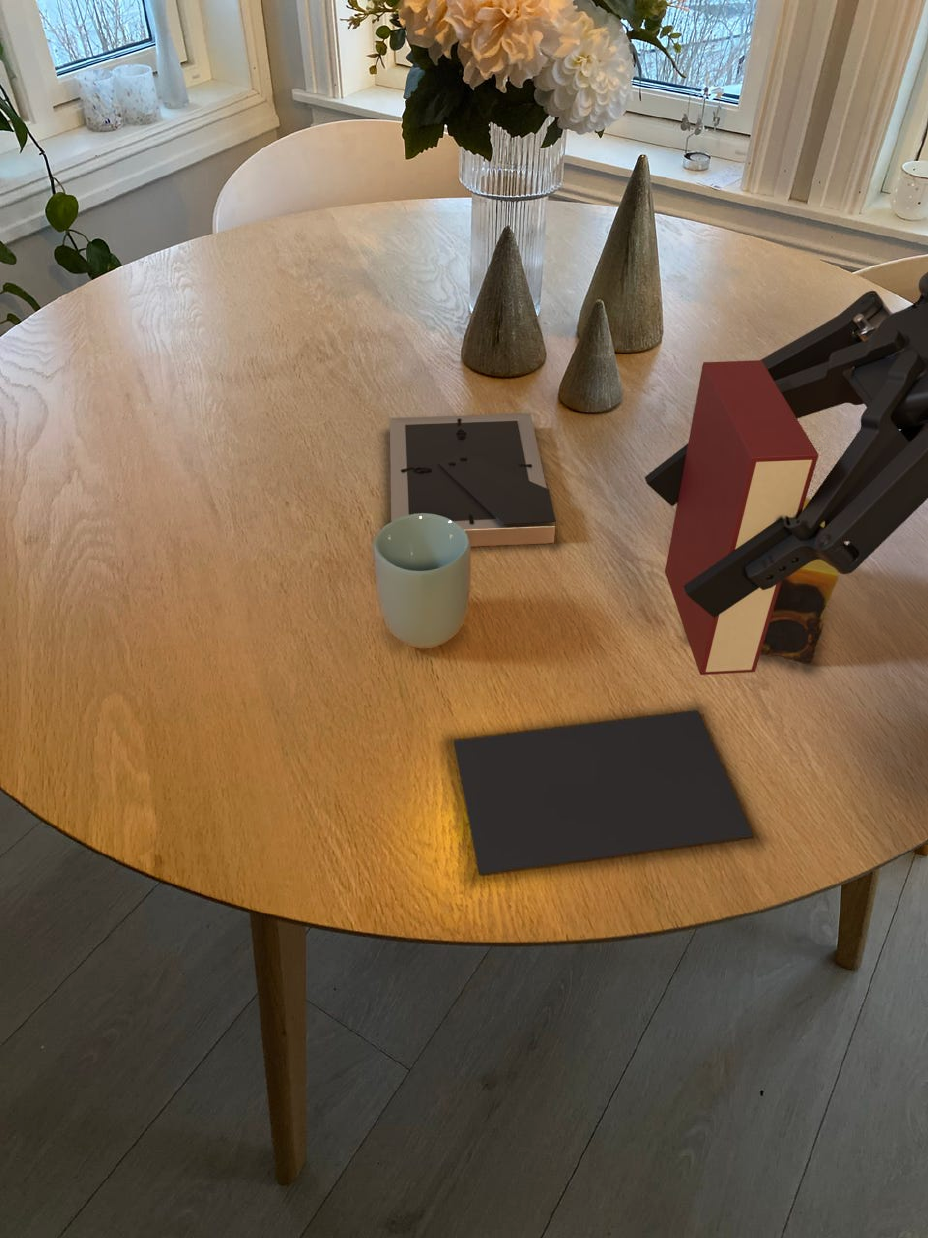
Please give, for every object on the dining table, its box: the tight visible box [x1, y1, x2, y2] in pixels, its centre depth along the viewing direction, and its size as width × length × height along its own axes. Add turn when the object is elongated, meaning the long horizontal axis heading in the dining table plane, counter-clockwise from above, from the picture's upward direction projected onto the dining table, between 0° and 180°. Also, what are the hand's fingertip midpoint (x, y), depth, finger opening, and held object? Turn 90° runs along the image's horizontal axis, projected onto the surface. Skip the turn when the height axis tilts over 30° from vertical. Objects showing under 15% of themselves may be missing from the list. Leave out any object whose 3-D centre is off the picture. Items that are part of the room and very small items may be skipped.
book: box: [664, 359, 819, 676], centre depth 58 cm, size 10×4×16 cm, turn 4°
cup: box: [372, 513, 472, 649], centre depth 81 cm, size 8×8×10 cm
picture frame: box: [389, 412, 557, 548], centre depth 100 cm, size 16×3×21 cm
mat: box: [453, 710, 754, 876], centre depth 72 cm, size 20×12×1 cm, turn 99°
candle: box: [760, 498, 840, 665], centre depth 83 cm, size 10×10×10 cm
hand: (677, 543), depth 59 cm, fingers closed on book, 10 cm apart
